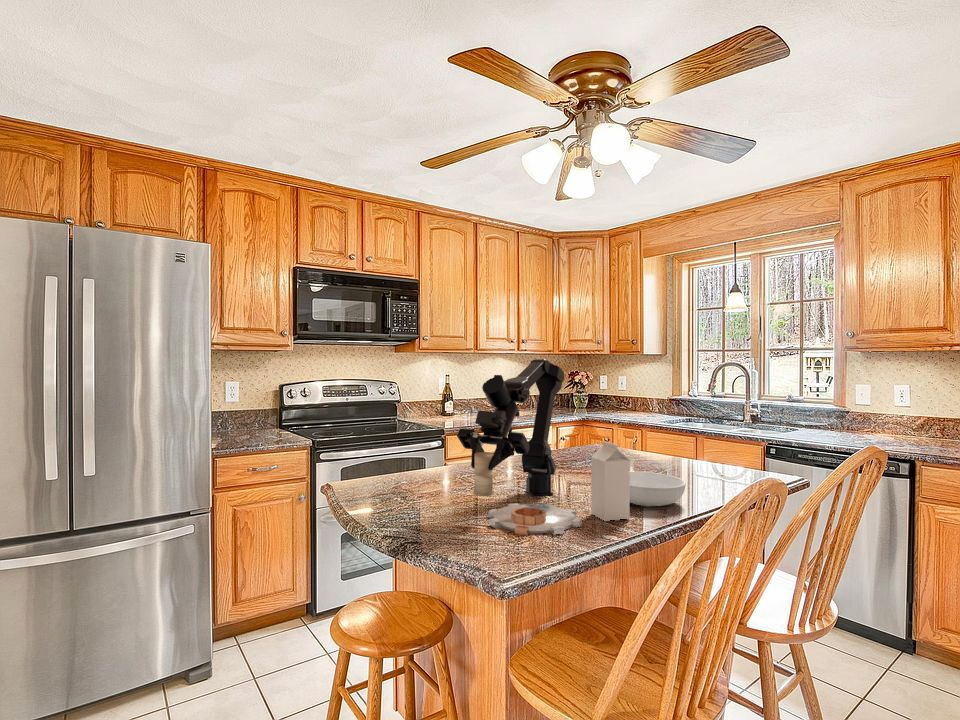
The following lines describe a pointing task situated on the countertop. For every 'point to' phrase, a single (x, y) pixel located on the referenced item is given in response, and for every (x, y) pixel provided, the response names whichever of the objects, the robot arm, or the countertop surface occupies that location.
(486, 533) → the countertop surface
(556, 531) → the sprocket wheel
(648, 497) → the serving bowl
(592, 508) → the milk carton
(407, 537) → the countertop surface
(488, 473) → the drive pin
